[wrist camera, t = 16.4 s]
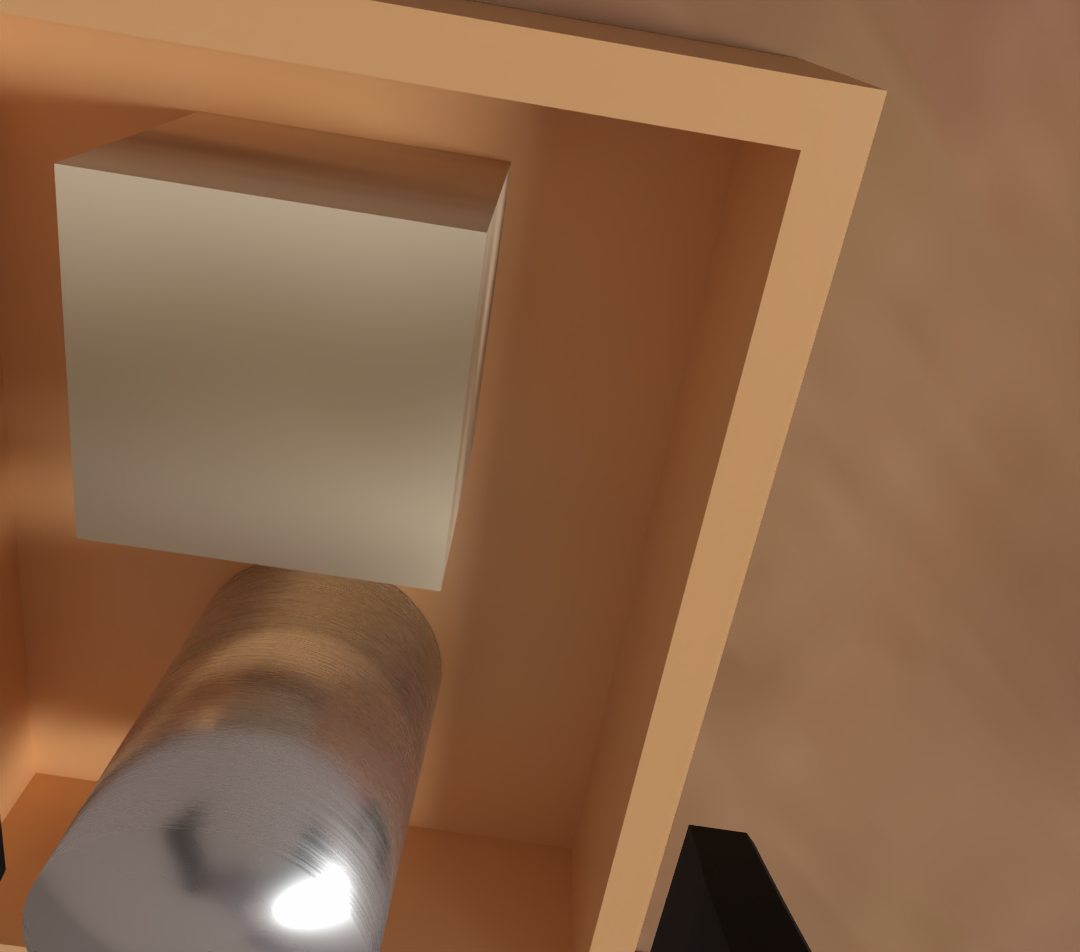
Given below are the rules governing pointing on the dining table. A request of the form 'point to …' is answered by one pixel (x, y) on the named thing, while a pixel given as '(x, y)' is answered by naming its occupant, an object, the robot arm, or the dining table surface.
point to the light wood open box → (501, 426)
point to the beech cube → (276, 343)
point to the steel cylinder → (256, 781)
